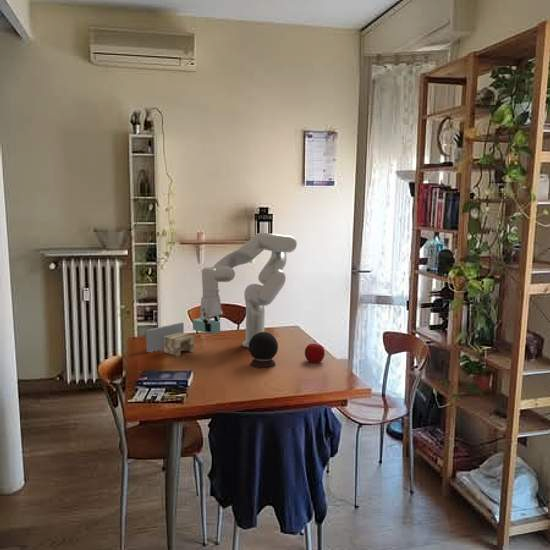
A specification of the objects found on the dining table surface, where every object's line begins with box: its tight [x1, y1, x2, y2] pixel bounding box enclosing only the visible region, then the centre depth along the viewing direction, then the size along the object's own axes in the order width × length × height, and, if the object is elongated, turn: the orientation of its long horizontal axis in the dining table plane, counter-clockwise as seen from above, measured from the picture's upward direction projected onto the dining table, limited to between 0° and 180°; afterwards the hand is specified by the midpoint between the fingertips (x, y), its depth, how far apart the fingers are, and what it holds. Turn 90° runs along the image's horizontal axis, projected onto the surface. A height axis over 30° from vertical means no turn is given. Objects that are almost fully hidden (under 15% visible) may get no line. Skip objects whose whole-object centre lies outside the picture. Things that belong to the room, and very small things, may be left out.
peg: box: [192, 317, 221, 335], centre depth 260 cm, size 14×5×5 cm, turn 51°
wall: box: [145, 322, 185, 353], centre depth 263 cm, size 2×22×11 cm, turn 141°
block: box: [163, 332, 195, 357], centre depth 257 cm, size 9×11×8 cm
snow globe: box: [248, 331, 279, 369], centre depth 239 cm, size 13×13×15 cm
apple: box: [304, 340, 326, 364], centre depth 245 cm, size 9×9×10 cm
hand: (212, 329), depth 258 cm, fingers closed on peg, 5 cm apart
